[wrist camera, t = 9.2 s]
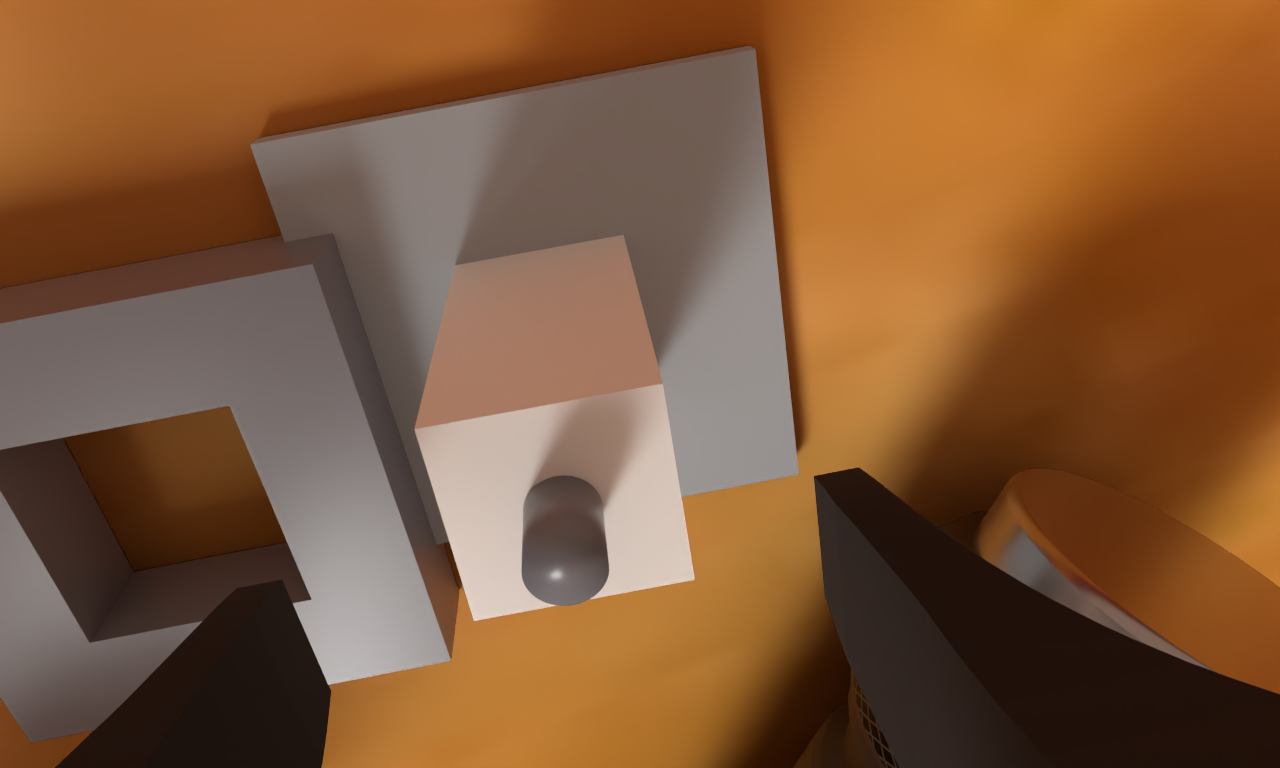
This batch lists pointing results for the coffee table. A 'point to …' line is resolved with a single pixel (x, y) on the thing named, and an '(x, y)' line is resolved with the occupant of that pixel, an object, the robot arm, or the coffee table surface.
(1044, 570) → the muzzle brake
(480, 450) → the plug
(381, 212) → the rubber pad
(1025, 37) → the coffee table surface
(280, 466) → the socket block
